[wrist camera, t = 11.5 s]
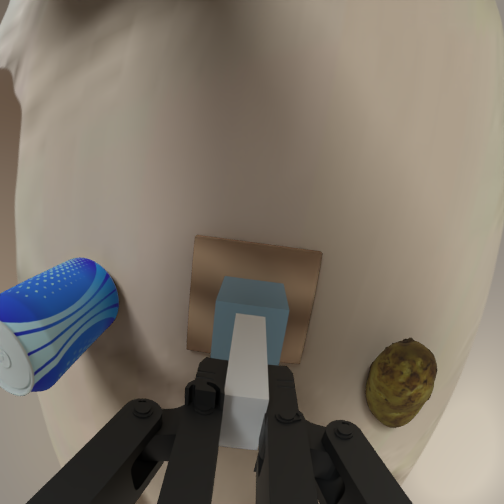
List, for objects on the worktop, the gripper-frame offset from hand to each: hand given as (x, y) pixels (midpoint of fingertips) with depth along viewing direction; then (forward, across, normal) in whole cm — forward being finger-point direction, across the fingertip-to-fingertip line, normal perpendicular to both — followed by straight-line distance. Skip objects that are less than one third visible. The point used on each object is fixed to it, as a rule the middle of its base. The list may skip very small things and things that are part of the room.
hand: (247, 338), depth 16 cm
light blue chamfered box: (+14, 0, -4) cm, 15 cm away
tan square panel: (+15, 0, -4) cm, 16 cm away
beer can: (+16, -17, -6) cm, 24 cm away
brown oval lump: (+15, +18, -11) cm, 26 cm away
